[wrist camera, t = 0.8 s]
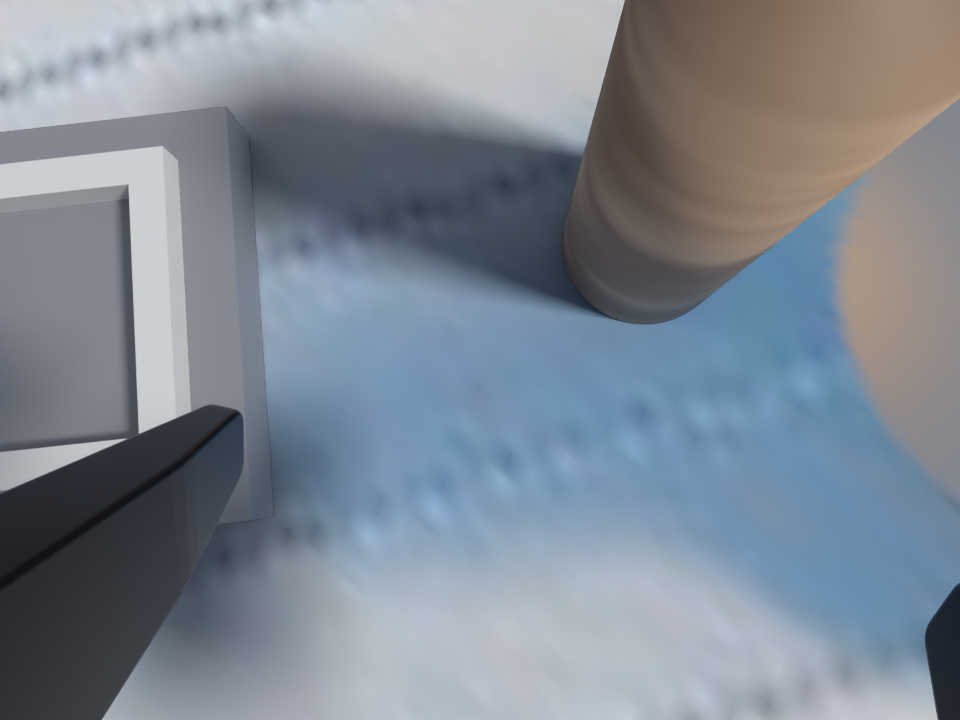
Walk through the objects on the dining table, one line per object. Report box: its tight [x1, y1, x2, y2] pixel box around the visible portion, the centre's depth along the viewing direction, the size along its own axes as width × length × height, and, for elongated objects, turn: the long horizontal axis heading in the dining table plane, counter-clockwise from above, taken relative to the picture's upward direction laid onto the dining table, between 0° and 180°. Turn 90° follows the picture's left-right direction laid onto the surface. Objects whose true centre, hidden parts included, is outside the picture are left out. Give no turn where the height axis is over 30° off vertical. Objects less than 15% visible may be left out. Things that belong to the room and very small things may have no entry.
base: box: [0, 106, 274, 524], centre depth 21 cm, size 12×12×3 cm
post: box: [562, 0, 960, 324], centre depth 16 cm, size 5×5×14 cm
